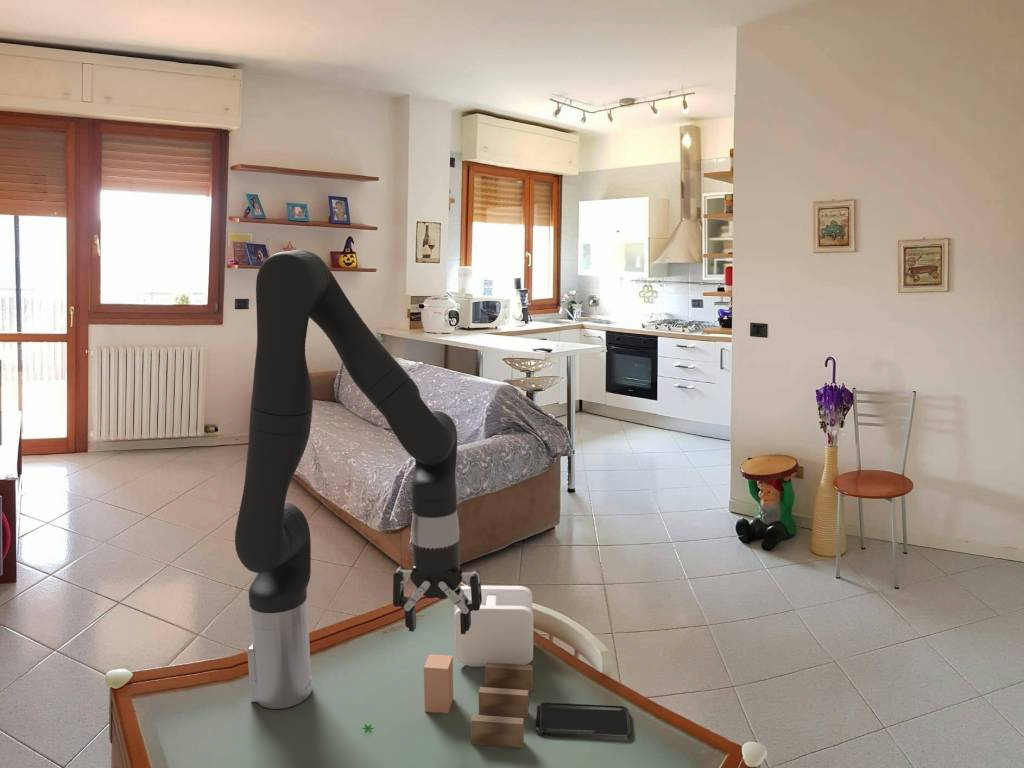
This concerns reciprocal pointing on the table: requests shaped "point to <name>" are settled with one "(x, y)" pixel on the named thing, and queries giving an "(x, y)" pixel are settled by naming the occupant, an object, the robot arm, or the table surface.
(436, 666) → the plug block
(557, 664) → the table surface
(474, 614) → the cable organizer
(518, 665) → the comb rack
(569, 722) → the phone
